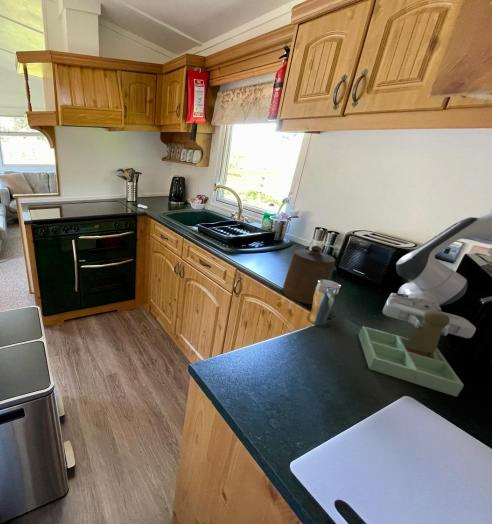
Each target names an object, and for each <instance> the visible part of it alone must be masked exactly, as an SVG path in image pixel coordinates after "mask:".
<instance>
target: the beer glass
mask: <svg viewBox="0 0 492 524" xmlns="http://www.w3.org/2000/svg"><path fill="white" fill-rule="evenodd" d="M341 289H342V285H341V284H340V283H338V282H336V281H334V280H325V279H321V280H319V281H318V284H317V286H316V288H315V291H314V294H313V301H312V304H311V308H310V312H309V314H308V315H307V317H306V320H307V321H308V322H309V323H310V324H313V325H315V326H318V327H325V326H327V323H328V317H329V314H330V313H331V311H332V310H333V308H334V307H335V305H336V303H337V301H338V299H339V295H340V291H341Z"/></svg>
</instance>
